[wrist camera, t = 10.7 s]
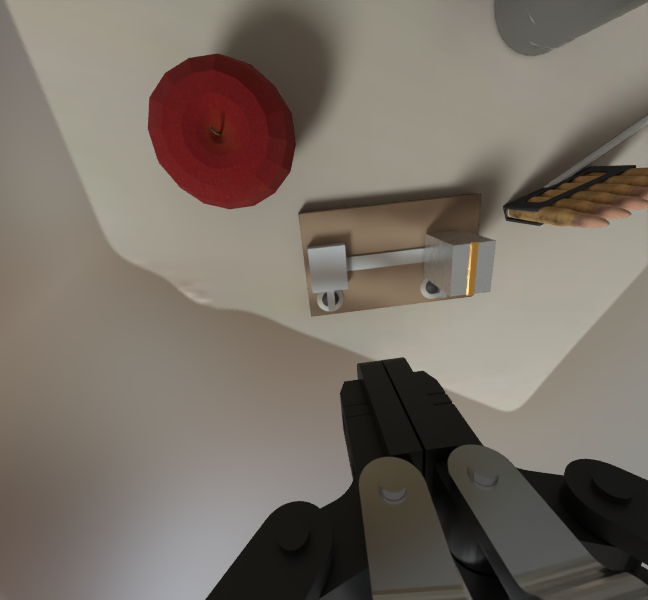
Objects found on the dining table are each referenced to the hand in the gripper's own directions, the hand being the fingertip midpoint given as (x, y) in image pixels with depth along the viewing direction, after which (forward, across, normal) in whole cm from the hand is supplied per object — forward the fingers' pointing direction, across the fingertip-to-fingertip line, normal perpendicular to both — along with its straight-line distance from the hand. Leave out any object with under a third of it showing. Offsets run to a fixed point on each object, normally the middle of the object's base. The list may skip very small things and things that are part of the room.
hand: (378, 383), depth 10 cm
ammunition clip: (+27, -27, -2) cm, 38 cm away
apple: (+27, +7, -10) cm, 30 cm away
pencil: (+28, -33, -6) cm, 43 cm away
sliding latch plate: (+27, -8, +3) cm, 28 cm away
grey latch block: (+25, -14, +4) cm, 29 cm away
